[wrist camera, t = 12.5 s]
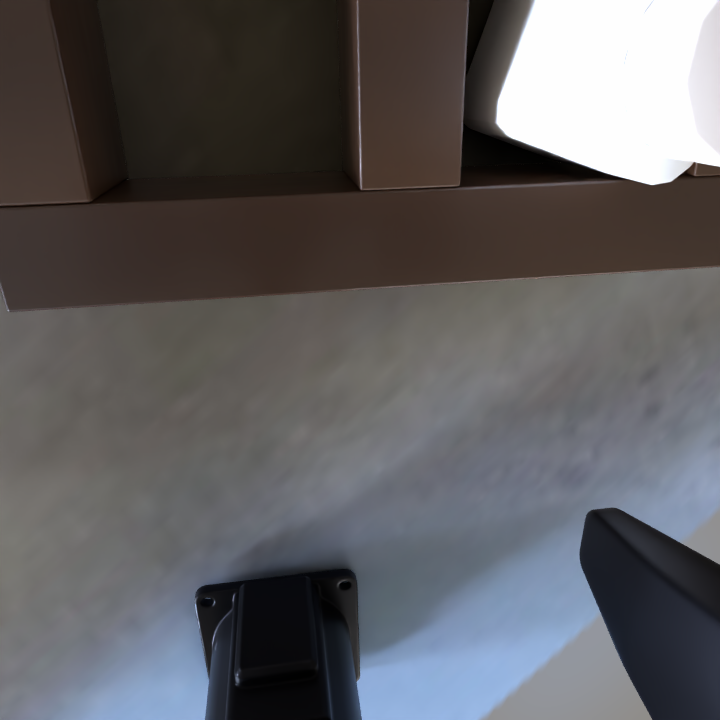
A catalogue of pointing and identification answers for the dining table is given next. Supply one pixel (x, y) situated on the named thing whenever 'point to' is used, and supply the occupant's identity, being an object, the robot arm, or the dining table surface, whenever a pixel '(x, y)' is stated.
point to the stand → (306, 184)
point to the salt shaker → (601, 83)
